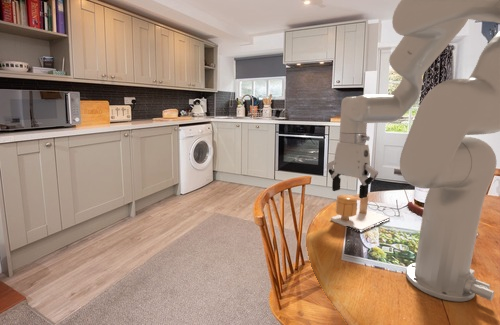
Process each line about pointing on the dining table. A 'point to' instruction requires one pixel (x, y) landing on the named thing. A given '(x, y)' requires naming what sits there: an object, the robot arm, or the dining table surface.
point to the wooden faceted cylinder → (346, 205)
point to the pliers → (415, 208)
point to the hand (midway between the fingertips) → (349, 193)
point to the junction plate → (360, 217)
